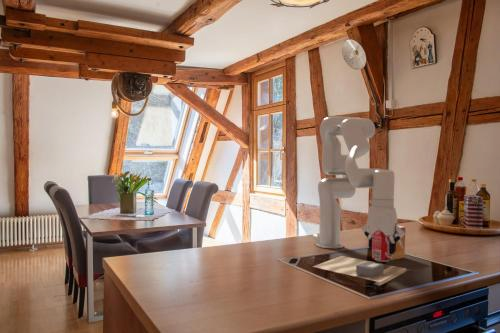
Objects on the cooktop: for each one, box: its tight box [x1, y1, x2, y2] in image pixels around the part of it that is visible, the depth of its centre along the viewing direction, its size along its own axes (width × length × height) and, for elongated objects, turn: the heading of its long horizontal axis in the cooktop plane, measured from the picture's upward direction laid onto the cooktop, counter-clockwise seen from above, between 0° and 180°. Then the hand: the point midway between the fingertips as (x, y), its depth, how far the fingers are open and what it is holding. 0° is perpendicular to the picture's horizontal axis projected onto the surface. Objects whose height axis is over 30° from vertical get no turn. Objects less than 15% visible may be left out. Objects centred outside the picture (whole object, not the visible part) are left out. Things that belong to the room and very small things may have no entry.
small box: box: [390, 225, 406, 261], centre depth 170 cm, size 8×6×13 cm
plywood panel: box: [312, 255, 407, 286], centre depth 150 cm, size 26×22×1 cm
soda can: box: [371, 228, 392, 263], centre depth 150 cm, size 7×7×12 cm
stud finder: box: [356, 260, 384, 278], centre depth 142 cm, size 6×8×3 cm
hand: (381, 251), depth 150 cm, fingers closed on soda can, 7 cm apart
